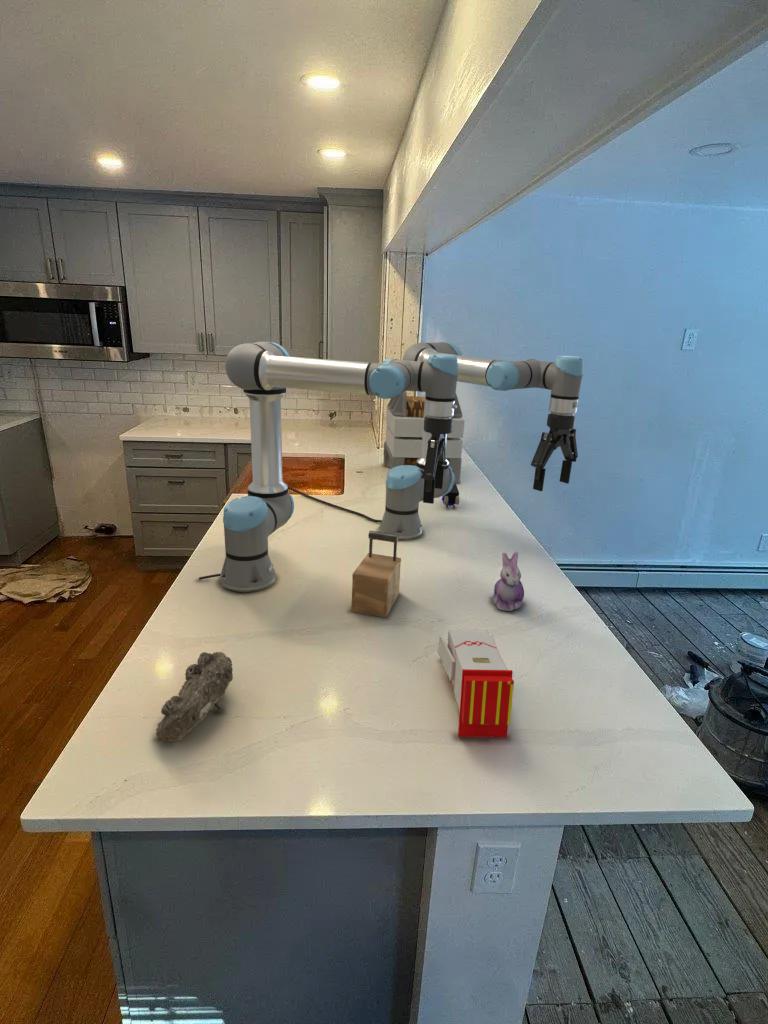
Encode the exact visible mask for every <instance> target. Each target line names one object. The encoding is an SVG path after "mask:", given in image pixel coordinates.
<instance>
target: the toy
mask: <svg viewBox="0 0 768 1024" xmlns="http://www.w3.org/2000/svg"><path fill="white" fill-rule="evenodd" d="M446 640H447V643H446V641H445V639H444V636H443V635H442V634H439V637H438V646H437V656H438V657H439V659H440V661H441V663H442V666H443V668H444V670H445V672H446V674H447V677H448V679H449V681H450V684H451V687H452V690H453V693H454V697H455V701H456V705H457V708H458V711H459V714H458V715H459V716H458V730H457V731H458V732H457V737H458V738H508V731H509V726H510V725H511V717H512V707H513V697H514V696H513V695H514V684H515V680H514V679H513V673H514V671H513V670H512V669H508V667H507V665H506V662H505V661H504V659H503V658H502V655H501V653H500V651H499V649H498V647H497V643H496V639H495V637H494V635H493V634H491V632H490V631H489V629H467V628H466V629H465V628H463V629H461V628H460V629H459V628H448V630H447V639H446Z"/></svg>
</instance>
